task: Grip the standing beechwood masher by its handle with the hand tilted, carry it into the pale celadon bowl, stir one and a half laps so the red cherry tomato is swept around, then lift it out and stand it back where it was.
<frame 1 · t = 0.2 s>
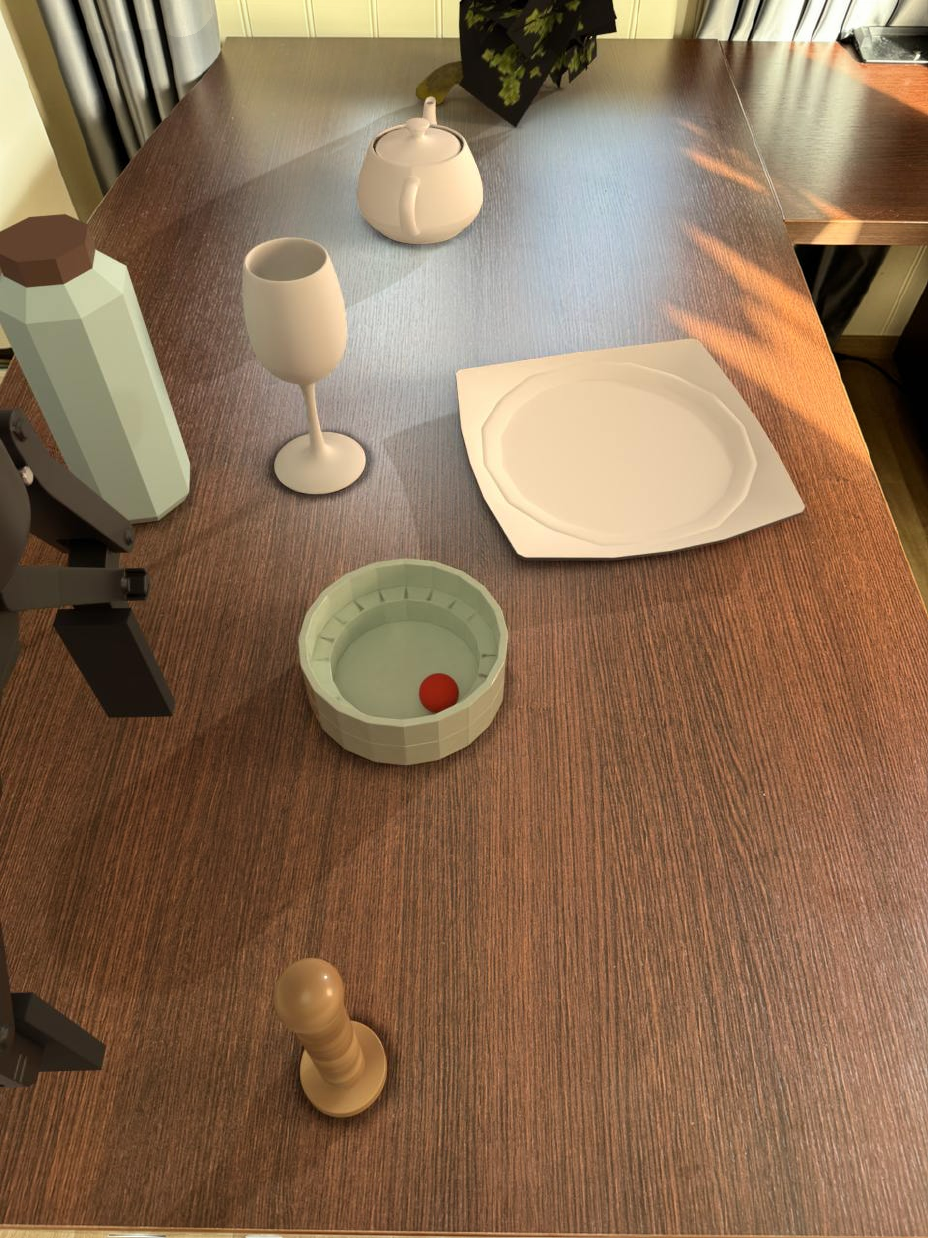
hand: (107, 863, 34), 26 cm above the table, tool pointing down, fingers open, 13 cm apart
tomato: (438, 693, 67), point 2 cm above the table, touching bowl
wineglass: (320, 465, 86), on the table
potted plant: (510, 102, 135), on the table
masher: (344, 1070, 53), on the table
water bottle: (143, 494, 83), on the table
plate: (614, 458, 86), on the table
bowl: (407, 682, 70), on the table
teapot: (422, 221, 114), on the table
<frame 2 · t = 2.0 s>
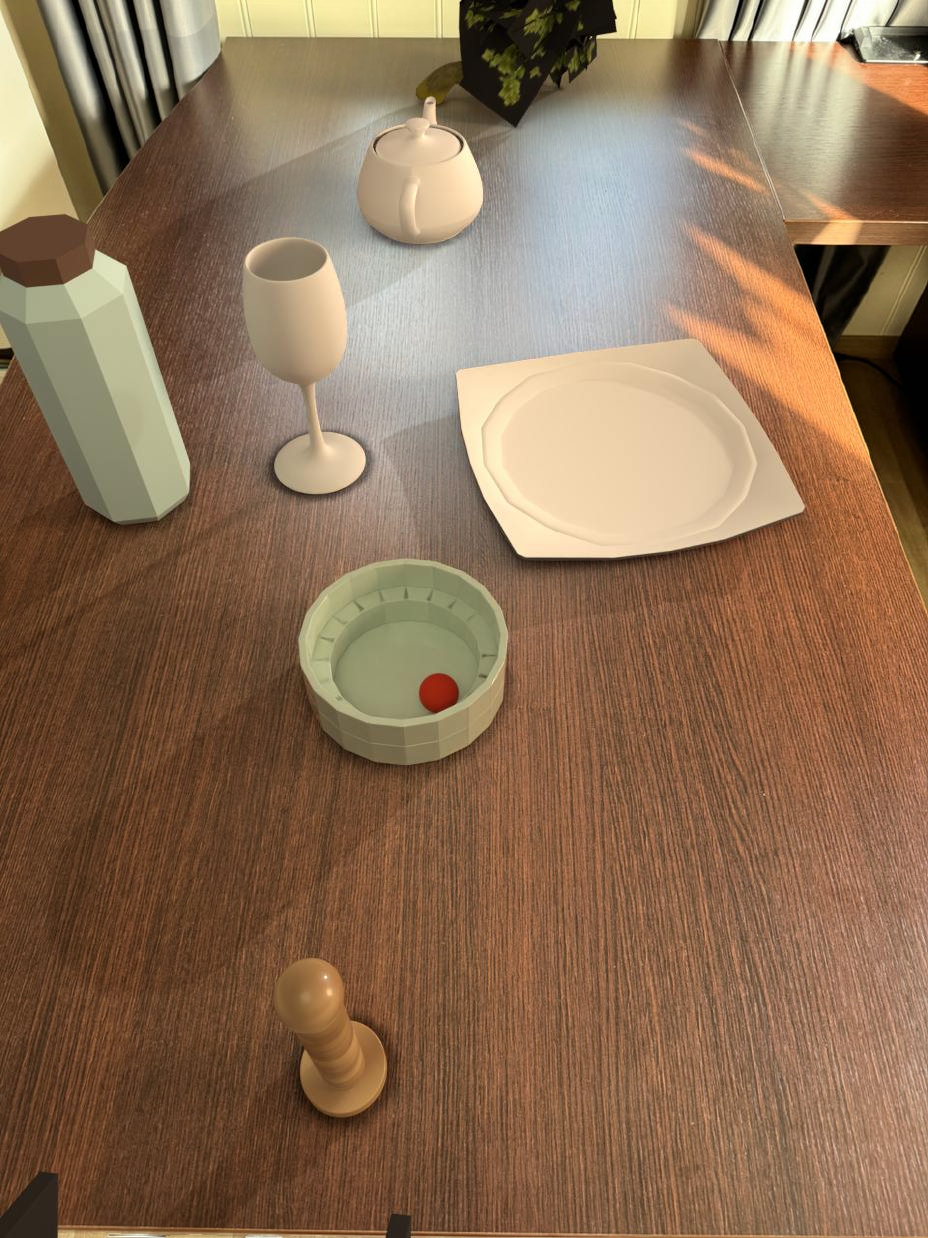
hand: (221, 1226, 33), 18 cm above the table, tool tilted 40°, fingers open, 13 cm apart
nothing on the table moved.
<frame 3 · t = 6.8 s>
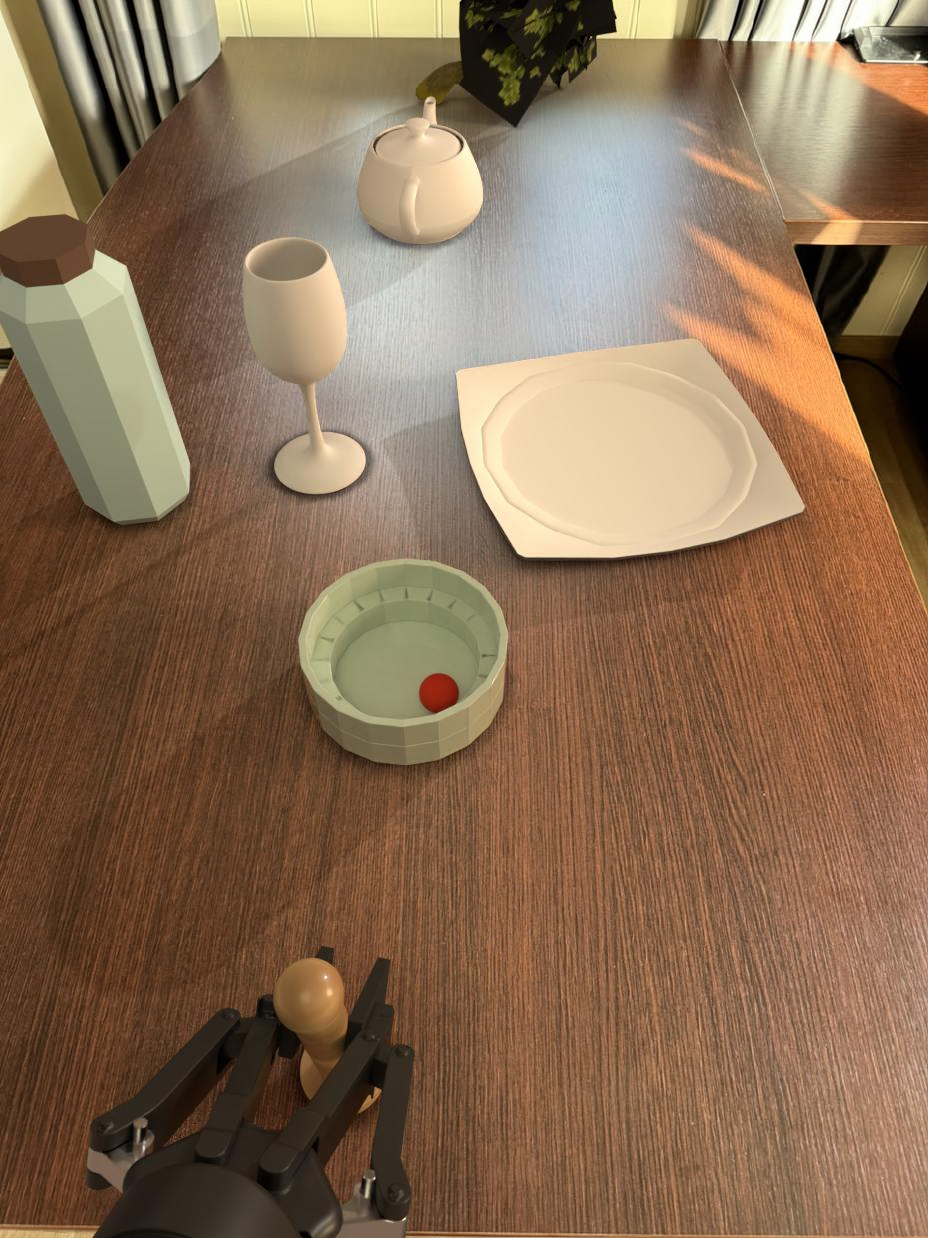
hand: (353, 975, 51), 6 cm above the table, tool tilted 45°, fingers closed on masher, 3 cm apart
masher: (344, 1070, 53), on the table, touching gripper
everything else where it was.
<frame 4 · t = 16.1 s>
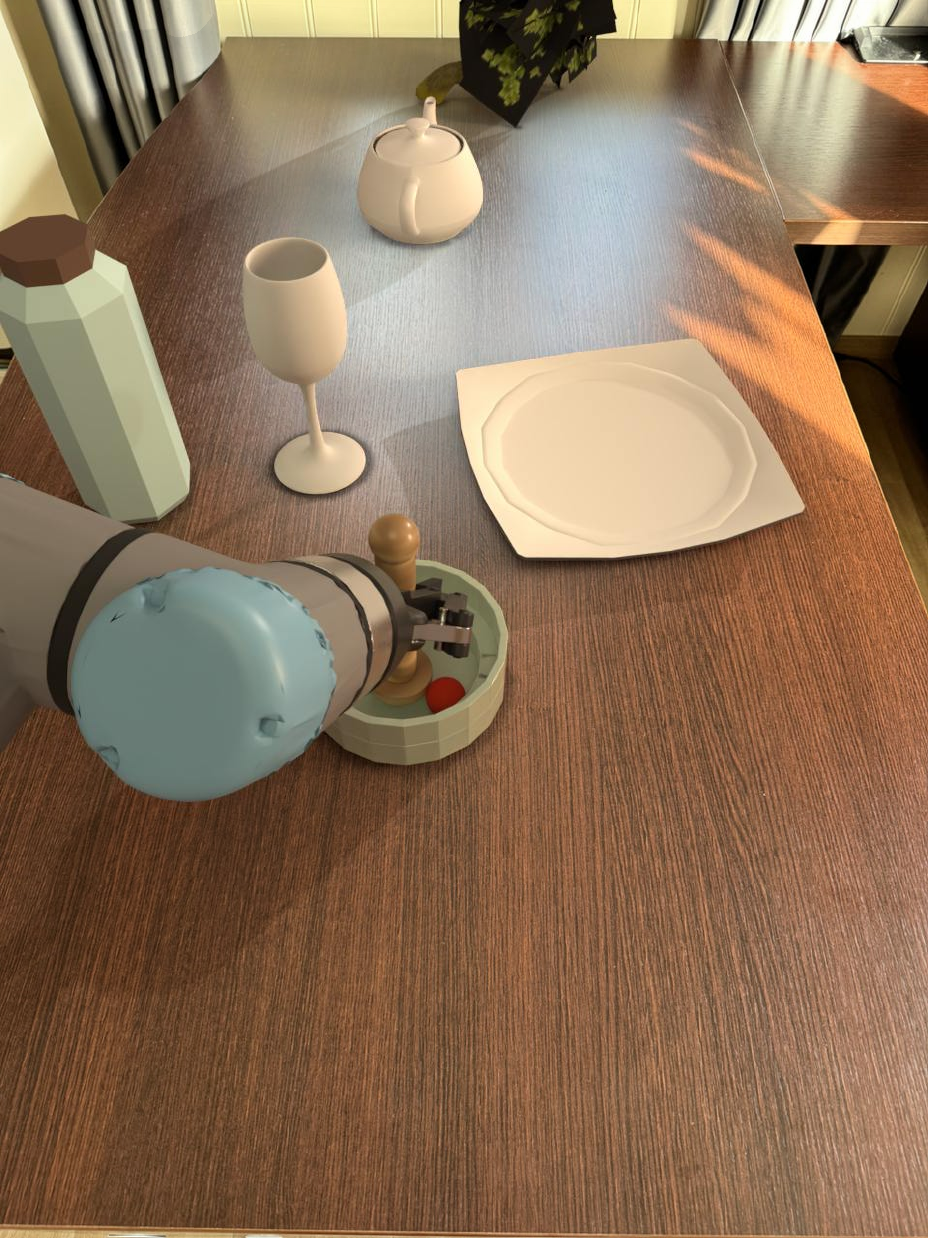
hand: (412, 592, 66), 8 cm above the table, tool tilted 45°, fingers closed on masher, 3 cm apart
tomato: (445, 696, 67), point 2 cm above the table, tilted 21°, touching bowl, masher
masher: (399, 678, 68), point 2 cm above the table, touching gripper, tomato
everything else where it was.
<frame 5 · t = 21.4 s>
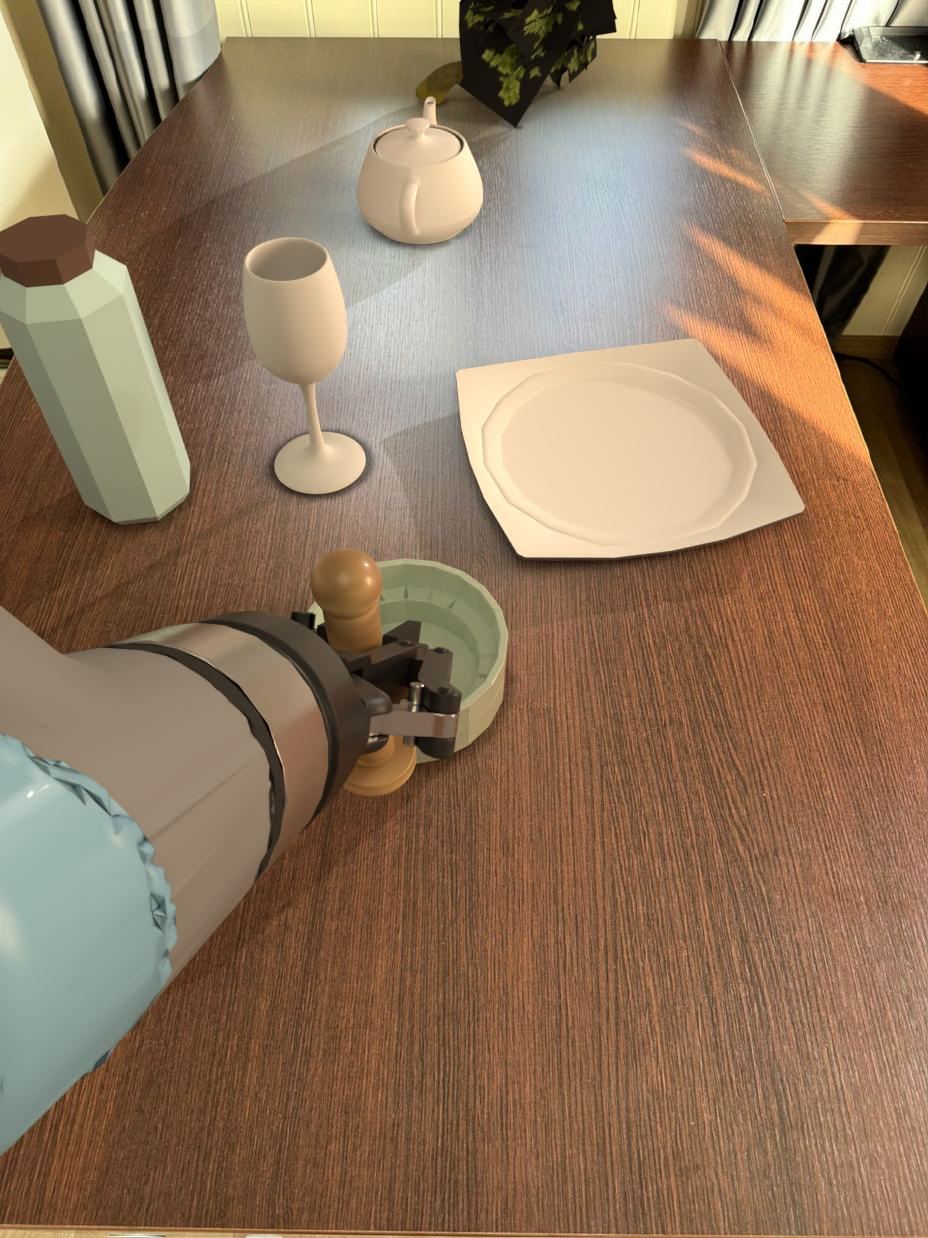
hand: (382, 640, 50), 18 cm above the table, tool tilted 45°, fingers closed on masher, 3 cm apart
tomato: (394, 658, 69), point 2 cm above the table, tilted 142°, touching bowl
masher: (373, 758, 52), point 12 cm above the table, touching gripper
everything else where it was.
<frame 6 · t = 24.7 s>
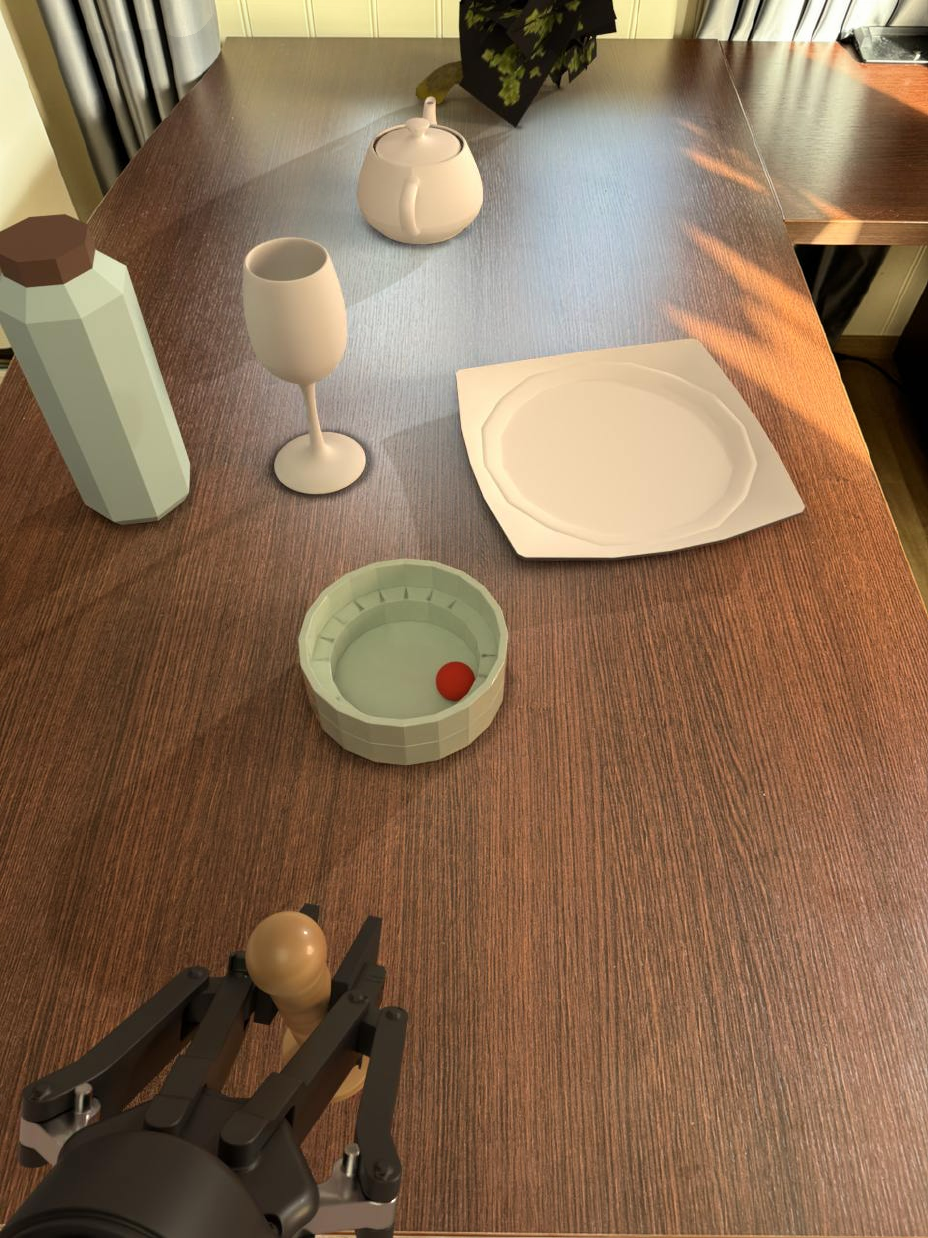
hand: (340, 936, 46), 12 cm above the table, tool tilted 45°, fingers closed on masher, 3 cm apart
tomato: (455, 681, 68), point 2 cm above the table, tilted 56°, touching bowl
masher: (331, 1051, 48), point 6 cm above the table, touching gripper
everything else where it was.
when the fingers open (6 cm above the table, at t = 26.6 s): masher stays where it is, on the table.
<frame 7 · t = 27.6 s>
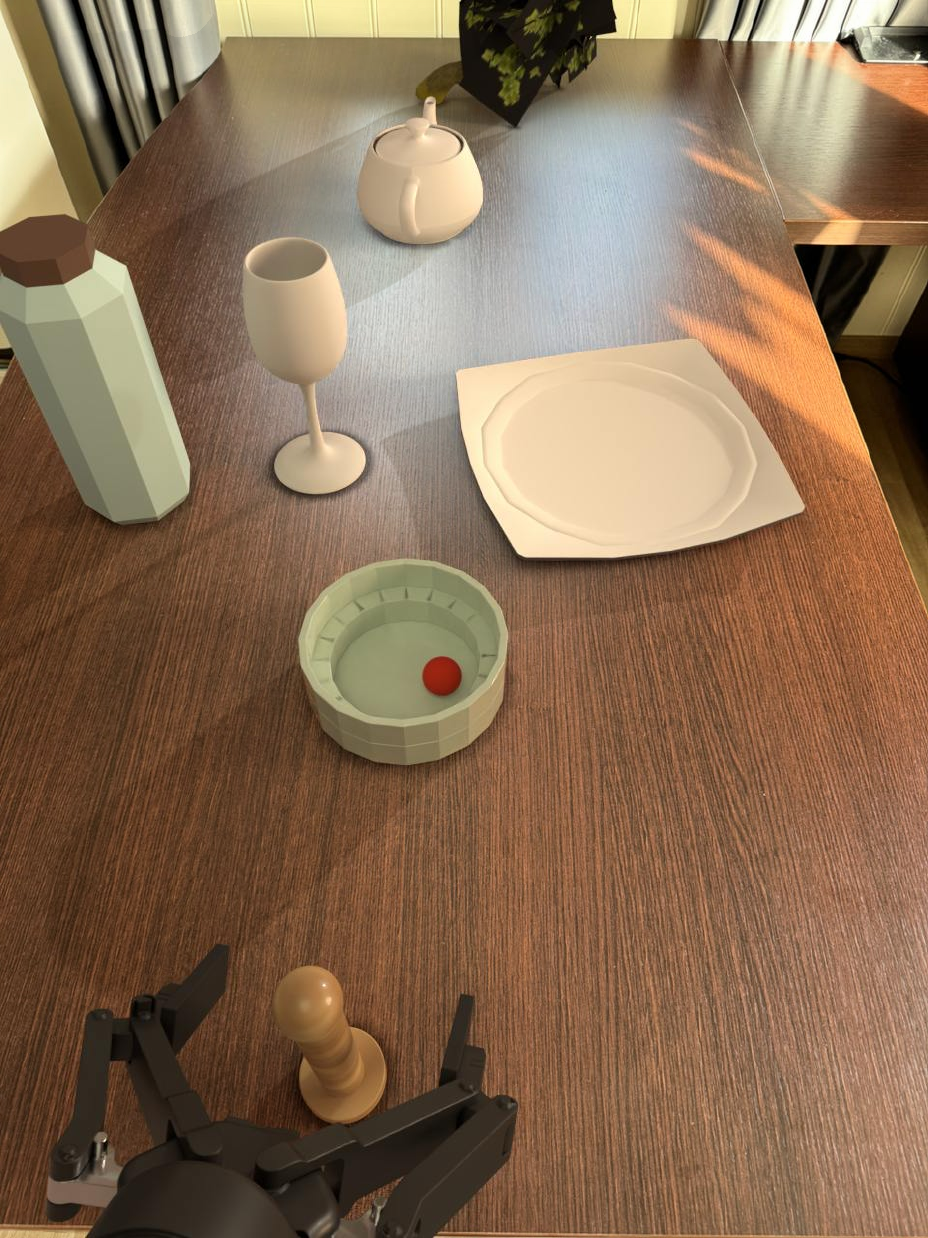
hand: (340, 992, 48), 8 cm above the table, tool tilted 45°, fingers open, 13 cm apart
tomato: (442, 676, 68), point 2 cm above the table, tilted 13°, touching bowl
masher: (344, 1076, 53), on the table
everything else where it was.
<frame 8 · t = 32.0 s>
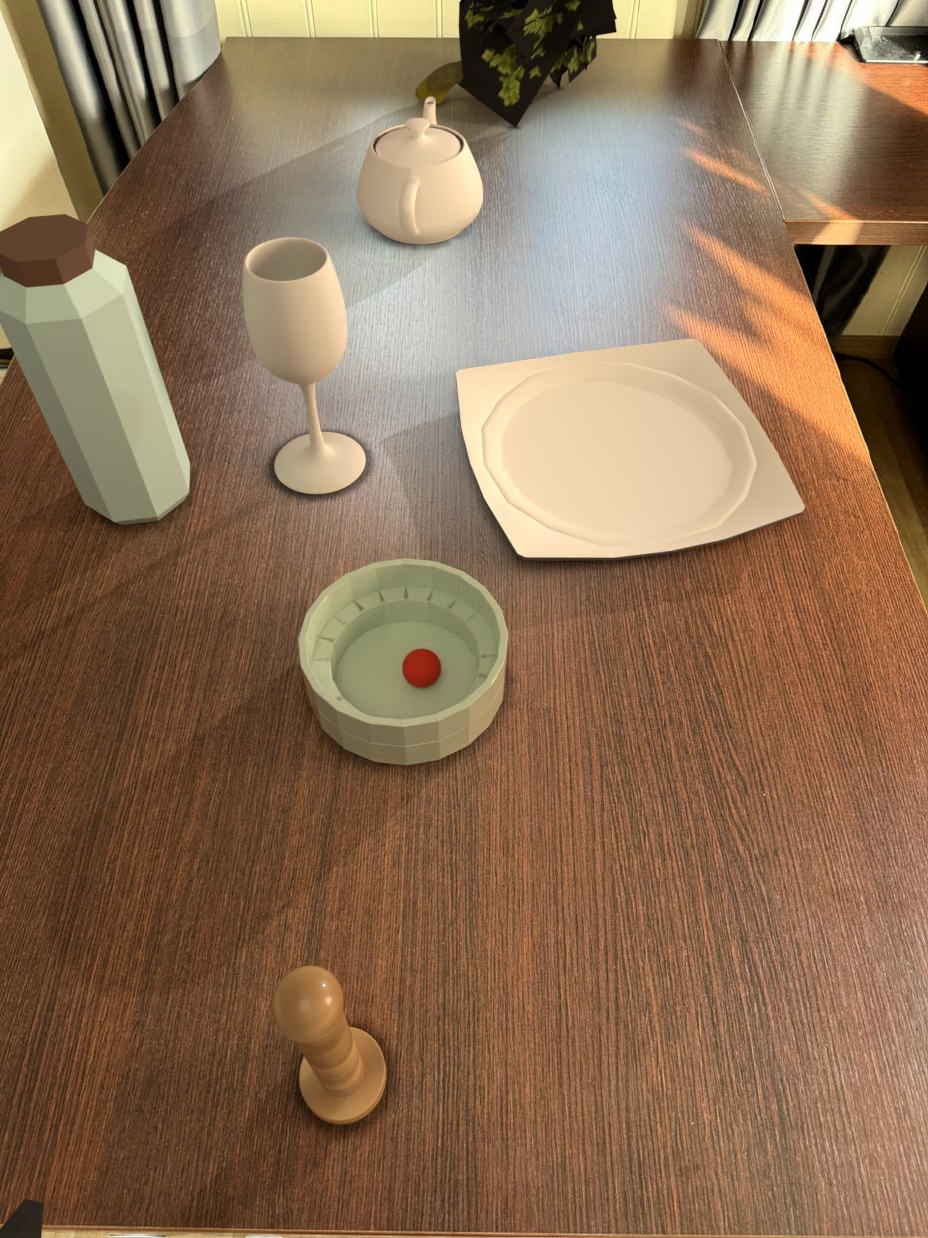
tomato: (421, 668, 68), point 2 cm above the table, tilted 53°, touching bowl
everything else where it was.
at the end: tomato moved 2.7 cm from its start; tomato inside the target area in the bowl (1.2 cm from its centre), point 2.1 cm above the bowl's base; masher tilted 0° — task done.
